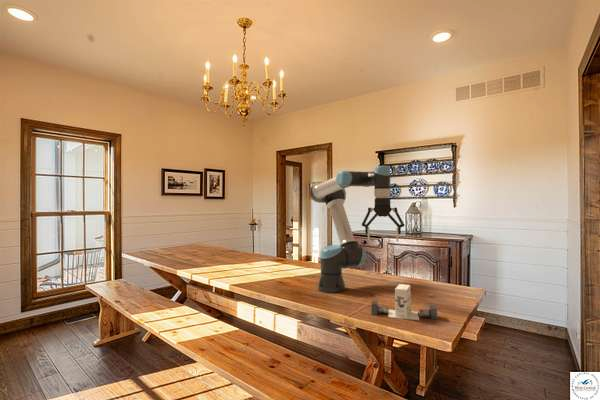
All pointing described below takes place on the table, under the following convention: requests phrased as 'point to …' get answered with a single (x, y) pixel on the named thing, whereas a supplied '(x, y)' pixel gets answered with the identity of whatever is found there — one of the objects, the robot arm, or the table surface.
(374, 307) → the shaft stub
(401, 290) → the ink box
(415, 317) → the pad
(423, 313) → the shaft stub
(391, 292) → the table surface
